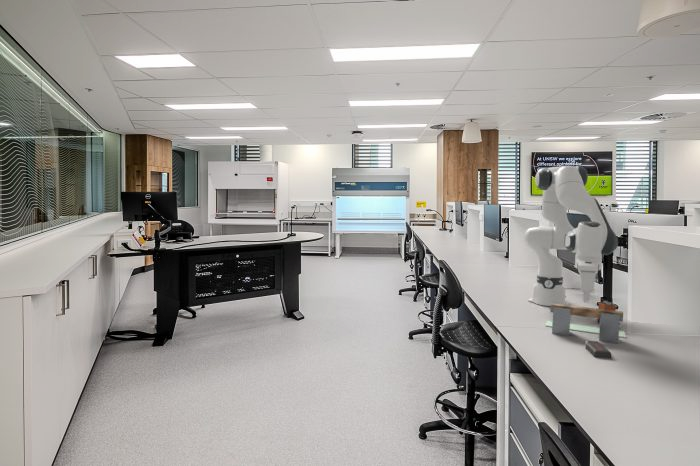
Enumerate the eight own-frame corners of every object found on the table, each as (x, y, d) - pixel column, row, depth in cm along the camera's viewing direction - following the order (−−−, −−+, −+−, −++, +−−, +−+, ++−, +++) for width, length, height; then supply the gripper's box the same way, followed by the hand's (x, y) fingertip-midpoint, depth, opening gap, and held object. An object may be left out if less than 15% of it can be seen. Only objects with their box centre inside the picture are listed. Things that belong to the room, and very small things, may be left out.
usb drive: (594, 358, 139) (594, 350, 139) (582, 346, 151) (582, 338, 150) (611, 359, 138) (612, 351, 138) (598, 347, 149) (598, 339, 149)
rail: (550, 312, 165) (550, 304, 165) (550, 310, 168) (551, 302, 167) (622, 321, 153) (623, 313, 153) (622, 319, 156) (622, 311, 155)
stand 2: (598, 336, 161) (600, 309, 160) (617, 338, 158) (618, 311, 157) (599, 340, 156) (600, 313, 155) (618, 343, 153) (619, 315, 152)
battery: (603, 326, 173) (604, 303, 172) (597, 322, 180) (598, 299, 179) (614, 327, 172) (616, 304, 171) (608, 323, 179) (609, 300, 178)
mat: (547, 321, 180) (547, 320, 180) (624, 332, 166) (624, 331, 166) (545, 326, 173) (545, 325, 173) (625, 337, 159) (625, 336, 159)
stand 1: (552, 329, 169) (554, 303, 168) (569, 331, 166) (571, 305, 165) (551, 333, 164) (553, 307, 163) (569, 335, 161) (570, 309, 160)
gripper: (579, 260, 169) (577, 294, 170) (578, 266, 151) (576, 303, 152) (597, 261, 166) (595, 295, 167) (598, 267, 148) (596, 306, 149)
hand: (586, 299), depth 159 cm, fingers open, 8 cm apart
